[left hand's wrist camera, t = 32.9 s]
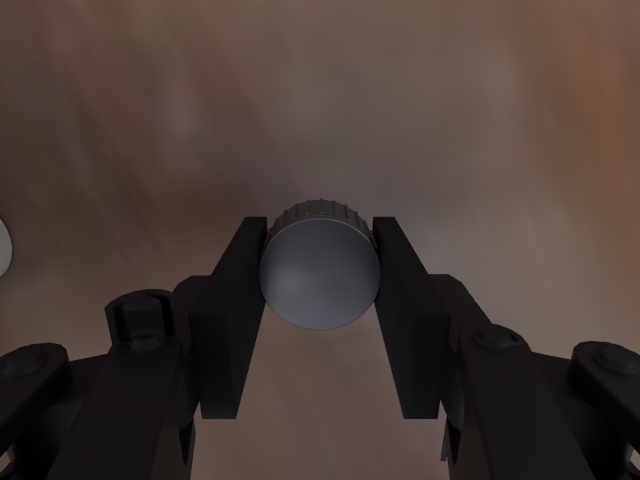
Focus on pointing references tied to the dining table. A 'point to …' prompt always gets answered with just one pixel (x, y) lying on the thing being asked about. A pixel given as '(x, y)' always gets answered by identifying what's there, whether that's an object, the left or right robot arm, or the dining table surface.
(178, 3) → the dining table surface
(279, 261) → the cap
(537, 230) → the dining table surface
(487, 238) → the dining table surface
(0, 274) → the bottle
